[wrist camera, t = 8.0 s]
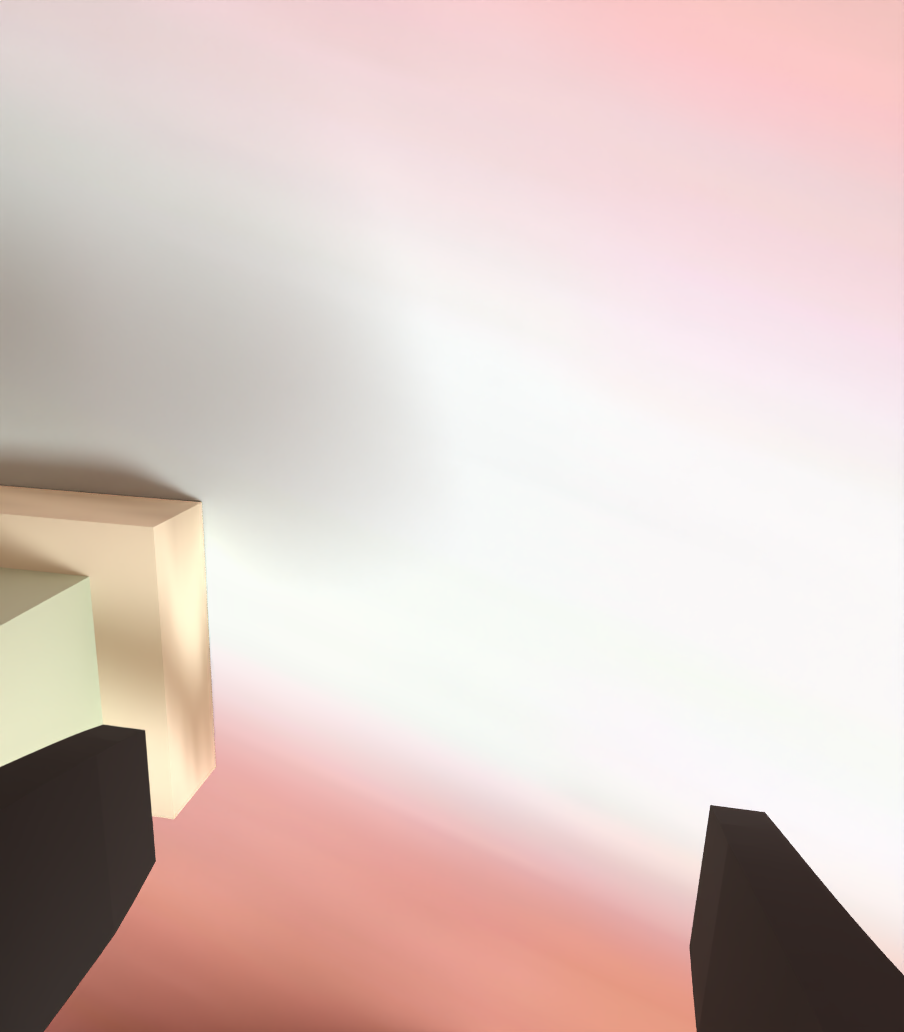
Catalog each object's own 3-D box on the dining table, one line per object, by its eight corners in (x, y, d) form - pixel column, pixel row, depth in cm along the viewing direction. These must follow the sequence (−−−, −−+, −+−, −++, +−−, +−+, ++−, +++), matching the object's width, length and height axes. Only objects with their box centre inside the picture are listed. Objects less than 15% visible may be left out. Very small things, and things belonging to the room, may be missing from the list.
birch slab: (215, 767, 23) (173, 819, 21) (-29, 733, 24) (-94, 778, 22) (201, 501, 21) (153, 527, 18) (-67, 479, 22) (-144, 500, 20)
